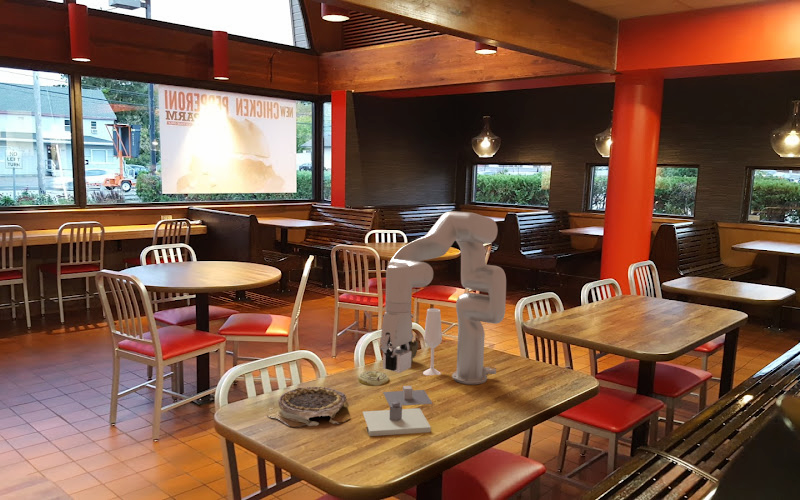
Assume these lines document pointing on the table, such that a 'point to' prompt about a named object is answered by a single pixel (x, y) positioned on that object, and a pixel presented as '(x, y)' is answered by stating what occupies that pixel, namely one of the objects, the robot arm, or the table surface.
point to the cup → (413, 349)
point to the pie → (310, 404)
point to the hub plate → (396, 421)
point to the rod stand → (407, 397)
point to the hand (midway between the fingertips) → (396, 366)
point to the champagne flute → (432, 336)
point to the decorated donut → (373, 378)
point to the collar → (400, 359)
